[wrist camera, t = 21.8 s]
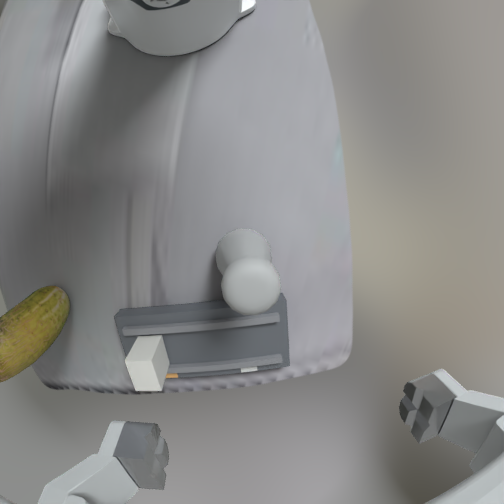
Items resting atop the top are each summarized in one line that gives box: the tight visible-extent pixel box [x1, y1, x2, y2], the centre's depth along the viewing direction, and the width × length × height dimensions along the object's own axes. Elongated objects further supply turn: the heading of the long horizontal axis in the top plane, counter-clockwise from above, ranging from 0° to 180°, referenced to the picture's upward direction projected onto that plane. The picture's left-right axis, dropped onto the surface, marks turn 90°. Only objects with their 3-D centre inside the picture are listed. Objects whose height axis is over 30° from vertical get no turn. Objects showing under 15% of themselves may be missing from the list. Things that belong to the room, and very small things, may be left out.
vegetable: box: [0, 286, 70, 382], centre depth 22 cm, size 6×6×20 cm
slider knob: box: [125, 335, 170, 391], centre depth 28 cm, size 4×3×5 cm
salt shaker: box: [215, 228, 281, 315], centre depth 26 cm, size 6×6×13 cm
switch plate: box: [114, 293, 290, 378], centre depth 32 cm, size 9×20×3 cm, turn 96°
